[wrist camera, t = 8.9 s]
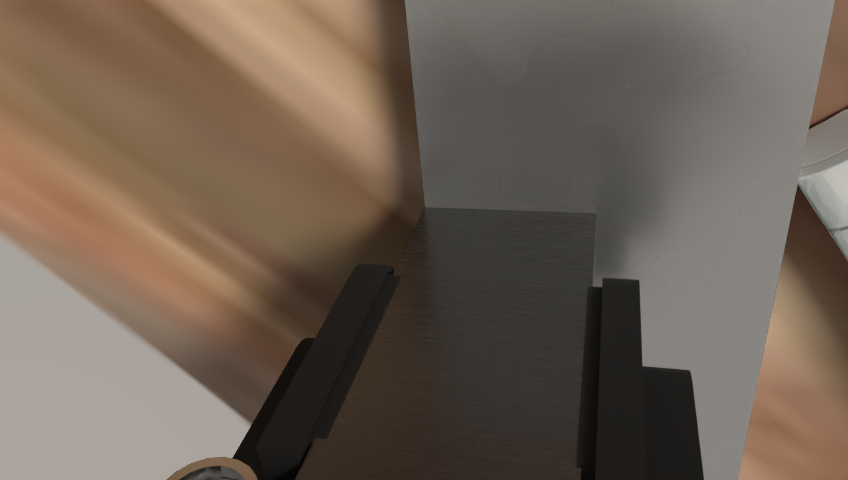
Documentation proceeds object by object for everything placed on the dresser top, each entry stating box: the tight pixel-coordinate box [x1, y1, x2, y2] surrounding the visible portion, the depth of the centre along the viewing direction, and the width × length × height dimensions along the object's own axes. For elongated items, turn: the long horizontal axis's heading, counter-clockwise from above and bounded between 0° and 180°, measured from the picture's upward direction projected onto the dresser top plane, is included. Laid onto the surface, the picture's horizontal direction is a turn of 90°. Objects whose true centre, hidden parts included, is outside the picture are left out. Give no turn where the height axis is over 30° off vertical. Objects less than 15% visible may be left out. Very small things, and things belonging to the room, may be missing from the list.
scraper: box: [295, 0, 835, 480], centre depth 10 cm, size 6×14×9 cm, turn 6°
